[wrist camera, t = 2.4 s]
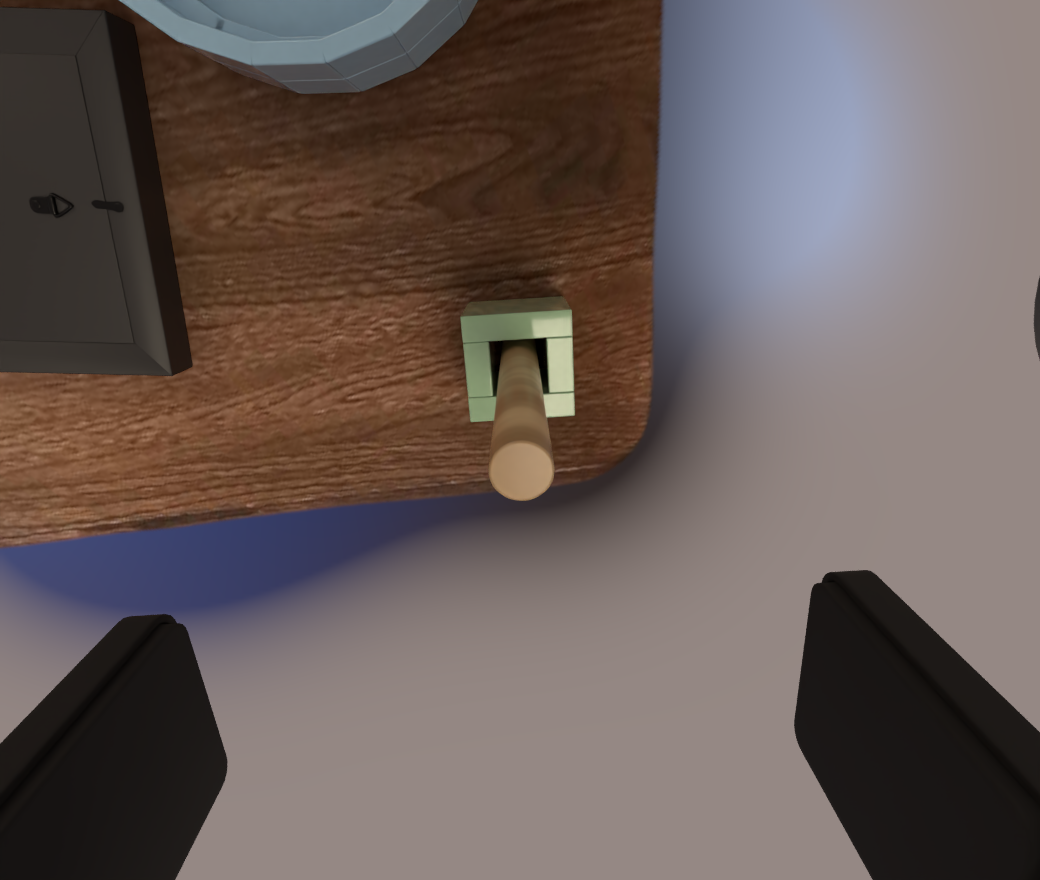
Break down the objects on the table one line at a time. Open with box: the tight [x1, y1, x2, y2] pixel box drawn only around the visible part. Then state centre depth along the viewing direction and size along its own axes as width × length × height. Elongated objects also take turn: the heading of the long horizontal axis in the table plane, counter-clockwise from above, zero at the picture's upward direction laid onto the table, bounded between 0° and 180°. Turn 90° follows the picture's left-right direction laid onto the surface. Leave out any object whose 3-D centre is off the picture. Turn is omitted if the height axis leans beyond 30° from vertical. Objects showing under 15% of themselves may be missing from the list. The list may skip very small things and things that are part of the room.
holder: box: [460, 296, 575, 422], centre depth 30 cm, size 5×5×5 cm
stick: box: [488, 339, 554, 501], centre depth 24 cm, size 2×2×17 cm
